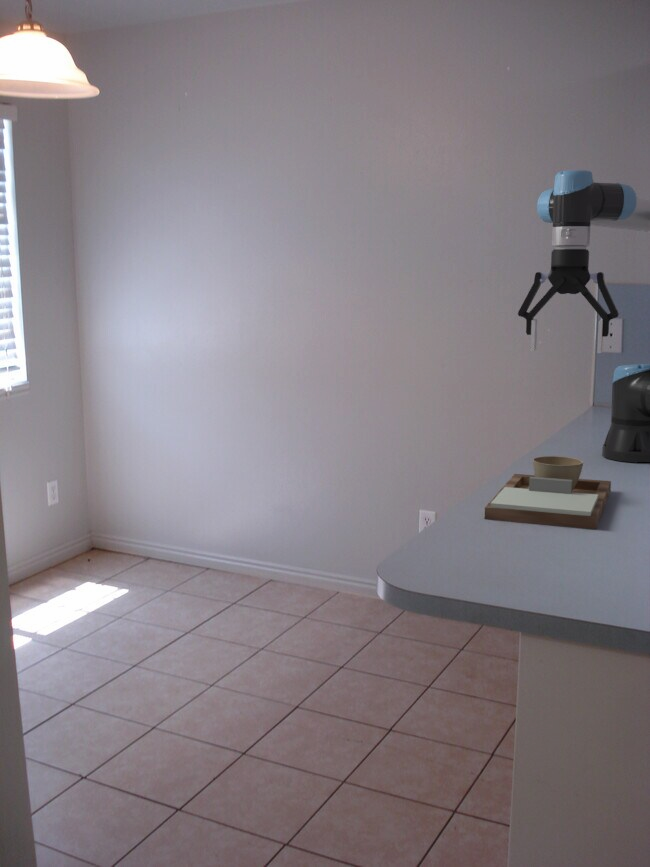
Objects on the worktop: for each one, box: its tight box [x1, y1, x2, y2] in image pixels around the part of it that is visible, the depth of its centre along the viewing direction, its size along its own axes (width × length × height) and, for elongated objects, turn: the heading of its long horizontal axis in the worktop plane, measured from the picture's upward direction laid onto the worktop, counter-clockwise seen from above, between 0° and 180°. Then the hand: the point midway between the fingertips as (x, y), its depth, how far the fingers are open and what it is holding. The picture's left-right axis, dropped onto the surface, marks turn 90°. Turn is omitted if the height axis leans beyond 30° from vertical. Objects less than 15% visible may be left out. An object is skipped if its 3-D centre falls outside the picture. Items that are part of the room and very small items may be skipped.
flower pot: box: [532, 455, 584, 490], centre depth 193 cm, size 10×10×7 cm
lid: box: [491, 477, 598, 516], centre depth 179 cm, size 14×18×3 cm
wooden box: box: [484, 473, 612, 530], centre depth 187 cm, size 31×20×2 cm, turn 159°
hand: (566, 351), depth 198 cm, fingers open, 13 cm apart
